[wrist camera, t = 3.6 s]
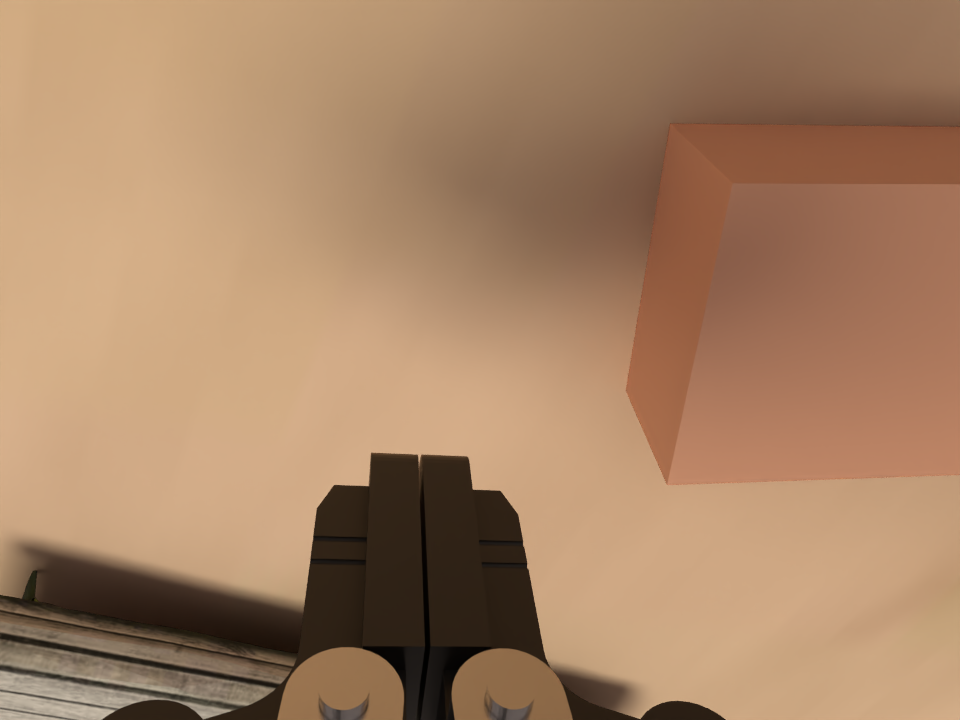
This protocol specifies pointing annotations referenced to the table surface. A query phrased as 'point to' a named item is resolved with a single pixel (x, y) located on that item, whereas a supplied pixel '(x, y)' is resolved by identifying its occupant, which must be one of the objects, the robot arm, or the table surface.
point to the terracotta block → (802, 304)
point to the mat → (120, 664)
